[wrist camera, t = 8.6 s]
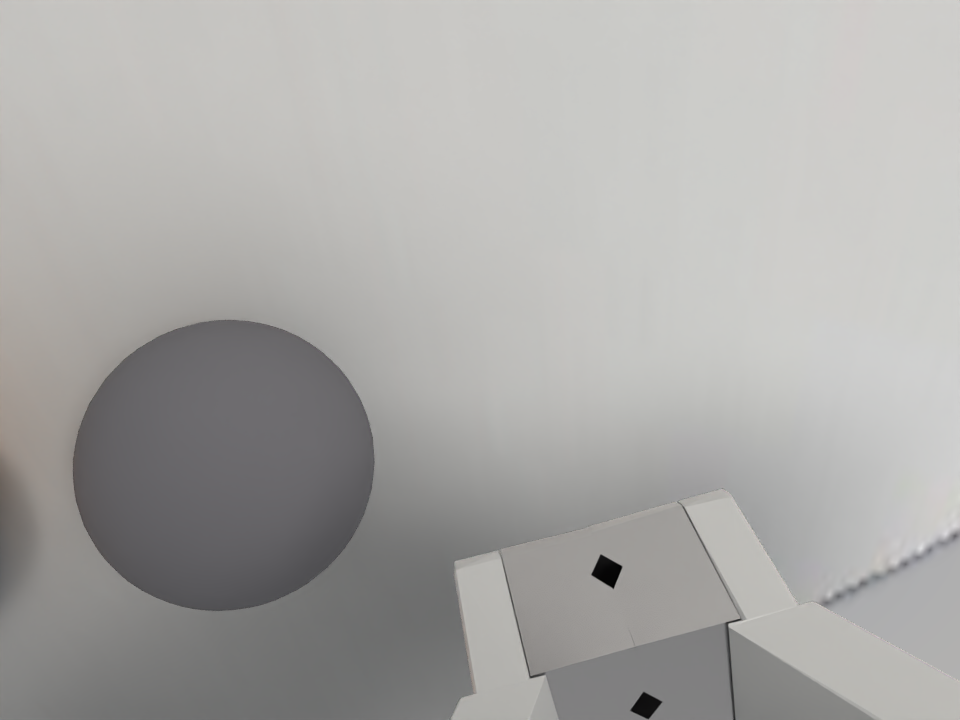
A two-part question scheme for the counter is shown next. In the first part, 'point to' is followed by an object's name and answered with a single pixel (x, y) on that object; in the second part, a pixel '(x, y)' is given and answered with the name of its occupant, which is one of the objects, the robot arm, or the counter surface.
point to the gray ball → (223, 465)
